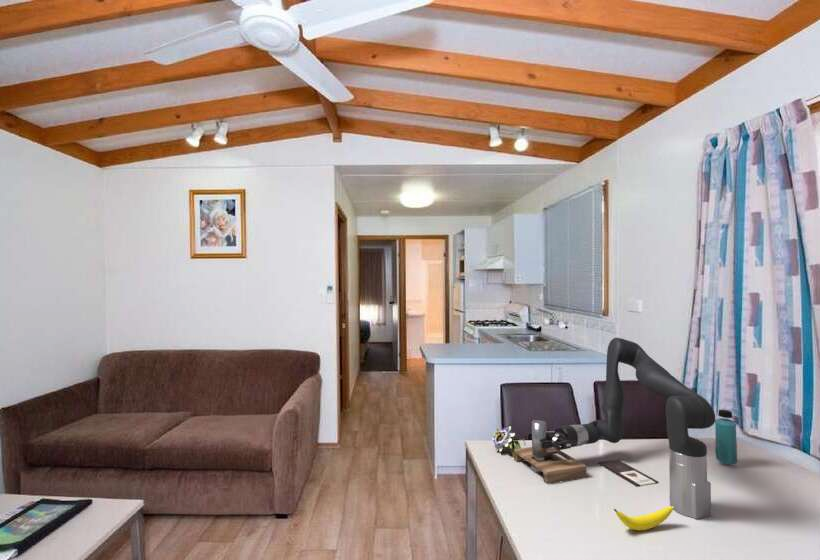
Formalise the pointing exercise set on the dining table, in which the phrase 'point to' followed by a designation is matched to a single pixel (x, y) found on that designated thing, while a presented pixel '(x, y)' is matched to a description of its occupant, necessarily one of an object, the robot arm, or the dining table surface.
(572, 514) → the dining table surface
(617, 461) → the chocolate bar
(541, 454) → the keyhole post
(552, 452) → the keyhole plate
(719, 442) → the beverage bottle
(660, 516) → the banana
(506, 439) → the passion flower
